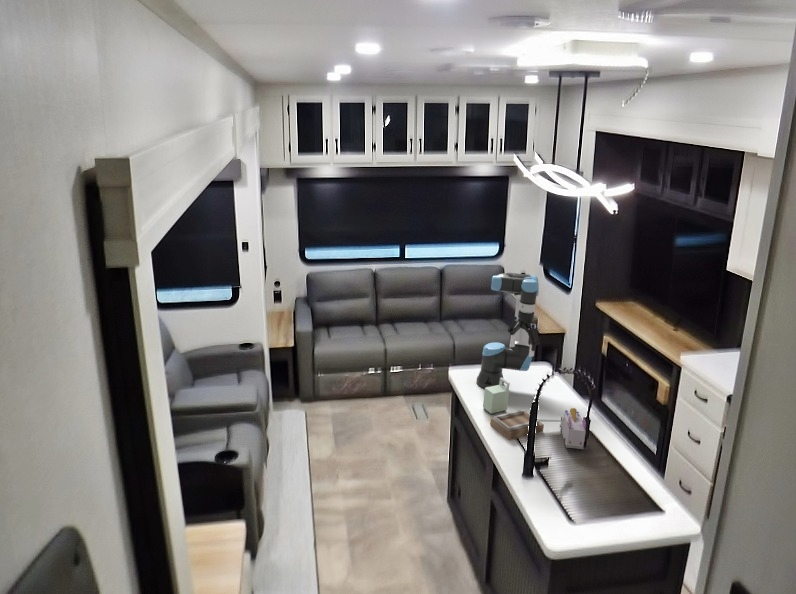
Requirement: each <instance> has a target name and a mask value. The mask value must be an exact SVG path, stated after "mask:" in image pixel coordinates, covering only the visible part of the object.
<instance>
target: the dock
mask: <svg viewBox="0 0 796 594" xmlns="http://www.w3.org/2000/svg"><path fill="white" fill-rule="evenodd" d="M529 414H530V413H529V412H527V411H526V410H525V409H520V410H519V409H518V410H515V411H511V412H506V413H504V414H498V415H495V416H493V417H491V418H490V420H489V421H490V422H489V425H490V426H491V427H492V428H493V429H495V430H496V431H497V432H498V433H500V434H501V435H502V436H504V438H506V439H507V440H509V441H513V440H517V439H520V438H525V437H528V436H527V434H528V426H529ZM544 427H545V424H544V423H543V422H541V421H539V420H538V419H537V426H536V434H540V433H543V432H544Z"/></svg>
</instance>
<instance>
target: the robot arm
mask: <svg viewBox="0 0 796 594" xmlns="http://www.w3.org/2000/svg"><path fill="white" fill-rule="evenodd" d="M539 284H540V283H539V278H538V277H537V276H536V275H533V274H527V273H516V272H514V273H513V272H505V273H499V274H497V275H493V276H492V278H491V284H490V285H491V286H490V288H491V290H492V291H495V292H496V291H497V292H502V293H505V294H511V295H513V298H514V299H515V300H516V303H515V310H514V312H515V313H514V317H513V320H512V321H511V324H510V325H509V327H508V328H507V332H508V333H509V345H508V347H506V345H505V344H504V343H501V342H489V343H486V344H485V345H483V349H482V357H481V363H480V364H481V365H480V371H479V373H478V375H477V377H476V384H477V385H478V386H479V387H481V388H483V389H485V388H486V387H491V386H496V385H499V383H500V378H503V379H504V375H503V369H505V370H513V371H519V372H528V371H529V369H530V367H531V363H532V360H533V357H535V351H536V348H537V345H541V341H540V336H539V332H538V331H539V330H538V324H537V323H533V320H534V318H535V310H536V303H537V302H536V301H537V297H539V289H540V285H539ZM529 340H530V344H529ZM504 385H505V383H504V382H502V386H504ZM504 387H505V386H504Z"/></svg>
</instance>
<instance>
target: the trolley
mask: <svg viewBox="0 0 796 594" xmlns="http://www.w3.org/2000/svg"><path fill="white" fill-rule="evenodd" d="M502 382H504V384H506V385H505V386H502ZM510 385H511V384H510V382H509V381H507V379H505V378H504V377H503V378H500V383H499V385H496V386H491V387H486V388H484V393H483V394H484V395H483V402H482V408H483V411H487V412H488V413H489V415H491V416H492V415H494V414H495V413H499V412H503V413H507V410H508V405H509V397H510Z"/></svg>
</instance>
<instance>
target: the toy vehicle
mask: <svg viewBox="0 0 796 594" xmlns="http://www.w3.org/2000/svg"><path fill="white" fill-rule="evenodd" d="M568 412H570V413H568ZM579 413H580V412H579V411H577V409H576V408H575V407H571V408H570V409H569V411H568V410H567V409H565V411H564V413H563V416H562V417H560V424H559V428H560V434H561V435H562V437H563V445H564V447H565V448H569V449H578V450H584V443H585V442H586V439H585V437H586V432H587V430H586V429H587V423H586V419H585V416H583V417H581V414H579Z"/></svg>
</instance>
